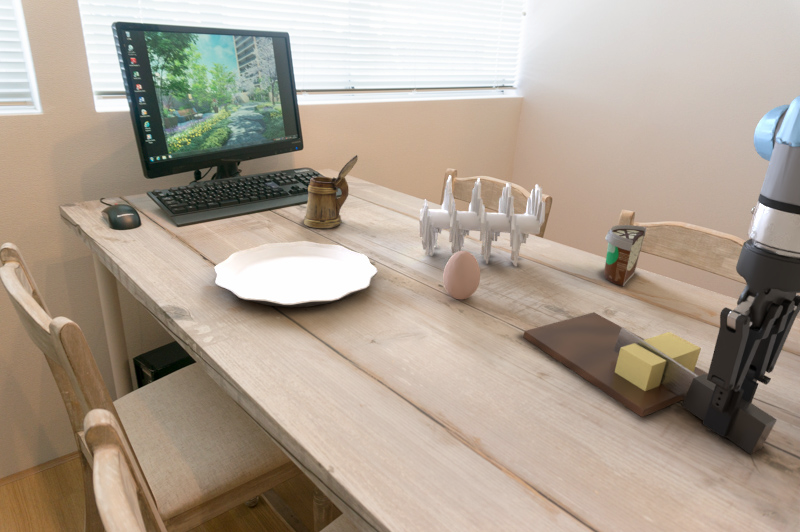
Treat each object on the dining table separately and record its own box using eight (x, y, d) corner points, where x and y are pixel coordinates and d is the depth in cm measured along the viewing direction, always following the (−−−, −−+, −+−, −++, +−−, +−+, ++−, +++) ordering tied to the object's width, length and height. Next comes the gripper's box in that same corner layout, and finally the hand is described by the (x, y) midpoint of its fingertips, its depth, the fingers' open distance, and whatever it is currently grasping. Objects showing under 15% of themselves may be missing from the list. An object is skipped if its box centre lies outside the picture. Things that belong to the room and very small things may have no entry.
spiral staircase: (422, 262, 122) (533, 270, 119) (412, 255, 105) (542, 264, 101) (428, 184, 124) (538, 189, 120) (419, 165, 106) (547, 170, 102)
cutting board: (715, 385, 74) (718, 378, 74) (641, 417, 67) (644, 409, 66) (592, 318, 92) (594, 312, 91) (523, 337, 84) (524, 330, 84)
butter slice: (659, 385, 71) (666, 360, 70) (645, 391, 70) (652, 365, 68) (628, 367, 75) (634, 342, 74) (614, 372, 74) (620, 347, 72)
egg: (484, 303, 95) (490, 255, 92) (453, 308, 92) (458, 260, 89) (464, 288, 101) (469, 243, 97) (434, 293, 98) (438, 247, 94)
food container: (607, 263, 117) (616, 220, 113) (636, 271, 114) (647, 226, 110) (590, 280, 108) (599, 233, 104) (621, 288, 105) (632, 240, 101)
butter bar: (693, 372, 75) (701, 347, 74) (665, 383, 72) (672, 358, 70) (662, 355, 79) (669, 331, 78) (633, 365, 76) (640, 341, 74)
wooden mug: (348, 233, 126) (350, 158, 120) (297, 225, 130) (296, 151, 123) (362, 223, 134) (364, 152, 128) (313, 216, 138) (313, 146, 131)
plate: (184, 277, 98) (182, 265, 97) (307, 242, 119) (306, 232, 118) (283, 334, 81) (282, 320, 80) (406, 281, 102) (407, 270, 101)
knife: (761, 448, 63) (777, 419, 61) (750, 454, 61) (766, 425, 59) (619, 350, 78) (628, 324, 76) (608, 353, 77) (617, 327, 75)
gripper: (785, 228, 63) (727, 393, 72) (709, 244, 55) (655, 425, 64) (860, 249, 57) (787, 426, 66) (786, 269, 50) (715, 466, 58)
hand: (722, 425), depth 65 cm, fingers closed on knife, 2 cm apart
